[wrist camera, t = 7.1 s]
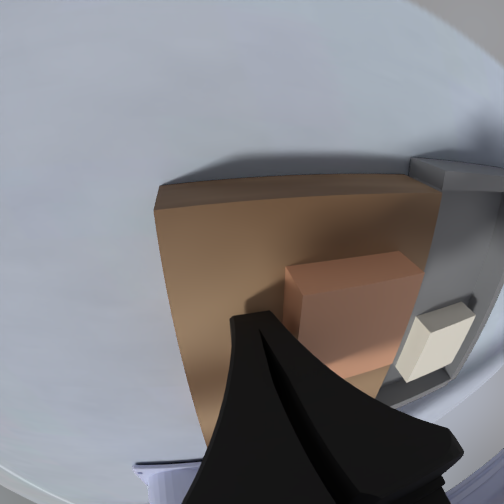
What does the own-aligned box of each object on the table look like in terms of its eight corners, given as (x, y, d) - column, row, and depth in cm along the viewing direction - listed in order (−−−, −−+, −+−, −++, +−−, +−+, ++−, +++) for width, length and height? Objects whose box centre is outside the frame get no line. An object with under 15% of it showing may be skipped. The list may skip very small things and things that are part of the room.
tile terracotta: (374, 339, 13) (392, 363, 11) (279, 361, 12) (291, 392, 10) (399, 250, 10) (424, 272, 9) (285, 266, 10) (302, 295, 8)
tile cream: (406, 382, 17) (395, 366, 18) (451, 362, 18) (440, 349, 19) (430, 333, 15) (415, 316, 16) (476, 315, 15) (461, 301, 17)
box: (439, 364, 21) (453, 381, 19) (350, 398, 19) (363, 421, 18) (507, 168, 13) (533, 180, 11) (411, 157, 12) (445, 170, 10)
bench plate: (346, 401, 20) (360, 427, 17) (206, 430, 18) (212, 462, 16) (403, 174, 12) (442, 192, 10) (159, 185, 10) (153, 210, 8)
